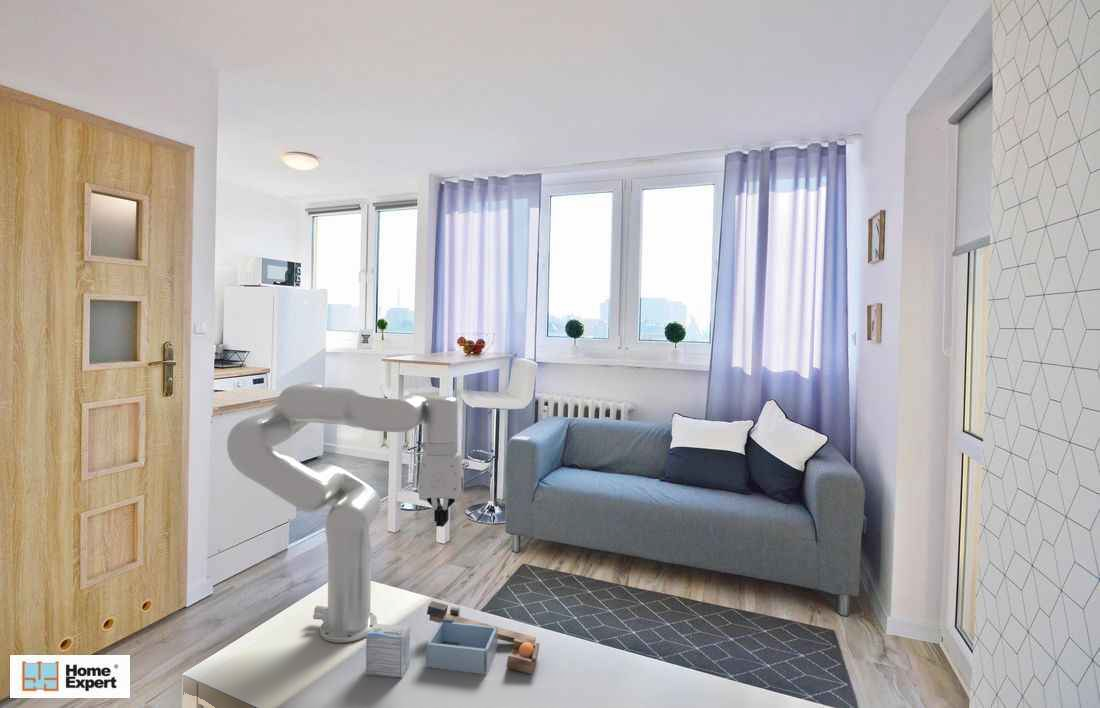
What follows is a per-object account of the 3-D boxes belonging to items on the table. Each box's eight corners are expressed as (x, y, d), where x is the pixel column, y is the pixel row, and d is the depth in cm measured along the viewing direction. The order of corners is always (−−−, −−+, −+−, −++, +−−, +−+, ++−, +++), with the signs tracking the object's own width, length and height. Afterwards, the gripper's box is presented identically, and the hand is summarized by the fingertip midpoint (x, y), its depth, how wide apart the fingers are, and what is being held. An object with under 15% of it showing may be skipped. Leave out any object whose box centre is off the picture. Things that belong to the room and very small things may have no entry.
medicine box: (410, 665, 112) (410, 625, 111) (402, 679, 107) (402, 637, 107) (374, 662, 112) (375, 622, 112) (365, 675, 108) (365, 634, 108)
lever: (410, 641, 113) (412, 626, 113) (429, 613, 124) (432, 600, 124) (532, 675, 109) (535, 660, 109) (541, 644, 120) (543, 630, 120)
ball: (515, 658, 111) (521, 645, 111) (518, 649, 114) (524, 636, 114) (528, 665, 111) (534, 652, 111) (531, 656, 114) (537, 643, 114)
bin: (426, 667, 111) (426, 644, 111) (441, 642, 120) (441, 621, 120) (486, 674, 109) (487, 650, 109) (497, 648, 118) (497, 626, 118)
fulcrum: (433, 644, 119) (434, 620, 119) (444, 627, 126) (444, 604, 126) (459, 647, 118) (459, 623, 118) (468, 630, 125) (468, 607, 125)
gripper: (405, 450, 122) (405, 528, 122) (468, 452, 120) (467, 532, 121) (416, 444, 129) (416, 517, 130) (476, 446, 128) (475, 520, 128)
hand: (441, 524), depth 125 cm, fingers closed
